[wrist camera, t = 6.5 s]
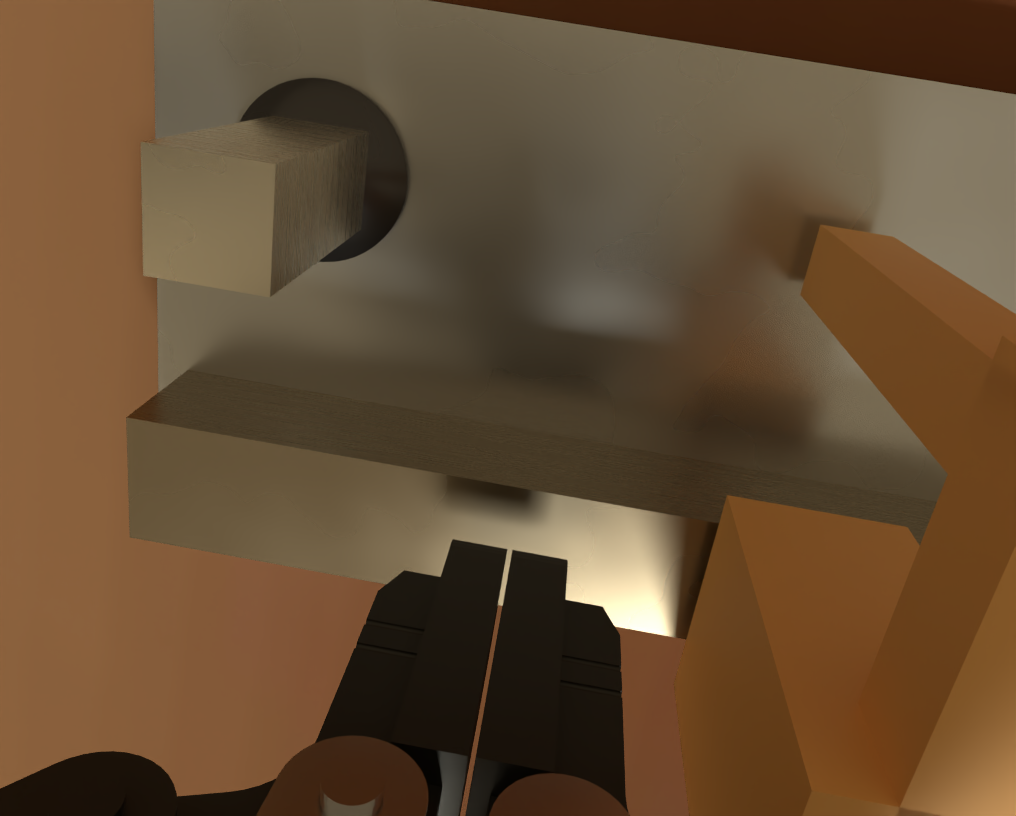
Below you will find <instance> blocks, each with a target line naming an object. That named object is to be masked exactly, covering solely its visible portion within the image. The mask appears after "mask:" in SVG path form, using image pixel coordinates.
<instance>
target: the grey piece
mask: <svg viewBox="0 0 1016 816" xmlns="http://www.w3.org/2000/svg"><path fill="white" fill-rule="evenodd" d="M154 55H155V137H156V139H152V140H147V141H142V142H141V181H142V234H143V276H149V277H154V278H157V301H158V382H159V393H157V394H156V395H155V396H153V397H152V398H151V399H150V400H148V401H147V402H146V403H144V404H143V405H142V406H141V407H139V408H138V409H137V410H135V411H134V412H133V413H132V414H130V415H129V416H128V417H126V422H127V457H128V492H129V527H130V537H131V538H137V539H142V540H148V541H153V542H159V543H164V544H169V545H175V546H180V547H186V548H191V549H197V550H202V551H208V552H213V553H219V554H224V555H229V556H235V557H240V558H246V559H251V560H257V561H262V562H268V563H273V564H279V565H284V566H289V567H295V568H300V569H306V570H311V571H317V572H322V573H328V574H333V575H339V576H344V577H349V578H355V579H360V580H366V581H371V582H377V583H382V584H388V583H389V582H390V581H391V580H393V579H394V578H395V577H396V576H398V575H399V574H400V573H401V572H403V571H404V570H406V571H411V572H417V573H422V574H427V575H433V576H438V577H441V574H442V571H443V568H444V564H445V561H446V558H447V555H448V551H449V548H450V545H451V542H452V540H453V539H455V540H460V541H466V542H471V543H477V544H482V545H488V546H493V547H499V548H504V549H508V550H507V556H506V562H505V567H504V573H503V579H502V585H501V590H500V596H499V602H498V605H502V606H503V601H504V595H505V589H506V584H507V578H508V572H509V567H510V561H511V555H512V550H516V551H522V552H527V553H533V554H538V555H544V556H549V557H555V558H560V559H566V560H568V567H567V583H566V599H565V600H570V601H575V602H581V603H586V604H592V605H597V606H603V608H604V610H605V611H606V613H607V615H608V616H609V618H610V620H611V621H612V623H613V625H614V626H617V627H622V628H628V629H633V630H639V631H644V632H649V633H655V634H660V635H666V636H671V637H677V638H682V639H687V635H688V632H689V628H690V625H691V621H692V618H693V614H694V611H695V607H696V603H697V600H698V596H699V593H700V589H701V586H702V582H703V579H704V575H705V572H706V568H707V564H708V561H709V557H710V554H711V550H712V547H713V543H714V540H715V536H716V533H717V529H718V526H719V522H720V518H721V515H722V511H723V508H724V504H725V501H726V497H727V495H730V496H735V497H741V498H747V499H752V500H758V501H764V502H769V503H775V504H781V505H786V506H792V507H797V508H803V509H809V510H814V511H820V512H826V513H831V514H837V515H843V516H848V517H854V518H859V519H865V520H871V521H876V522H882V523H888V524H893V525H899V526H904V527H908V529H909V530H910V532H911V533H912V535H913V536H914V538H915V539H916V541H917V542H918V544H919V546H920V544H921V541H922V539H923V536H924V534H925V531H926V529H927V526H928V523H929V521H930V518H931V516H932V513H933V511H934V508H935V506H936V503H937V500H938V498H939V495H940V493H941V490H942V488H943V485H944V483H945V480H946V478H947V475H948V474H947V473H946V471H945V470H944V469H943V468H942V466H941V465H940V464H939V463H938V462H937V460H936V459H935V458H934V457H933V456H932V454H931V453H930V452H929V451H928V449H927V448H926V447H925V446H924V445H923V443H922V442H921V441H920V440H919V439H918V437H917V436H916V435H915V434H914V432H913V431H912V430H911V429H910V428H909V426H908V425H907V424H906V423H905V421H904V420H903V419H902V418H901V417H900V415H899V414H898V413H897V412H896V411H895V409H894V408H893V407H892V406H891V404H890V403H889V402H888V401H887V400H886V398H885V397H884V396H883V395H882V394H881V392H880V391H879V390H878V389H877V387H876V386H875V385H874V384H873V383H872V381H871V380H870V379H869V378H868V377H867V375H866V374H865V373H864V372H863V370H862V369H861V368H860V367H859V366H858V364H857V363H856V362H855V361H854V359H853V358H852V357H851V356H850V355H849V353H848V352H847V351H846V350H845V349H844V347H843V346H842V345H841V344H840V342H839V341H838V340H837V339H836V338H835V336H834V335H833V334H832V333H831V332H830V330H829V329H828V328H827V327H826V325H825V324H824V323H823V322H822V321H821V319H820V318H819V317H818V316H817V314H816V313H815V312H814V311H813V310H812V308H811V307H810V306H809V305H808V304H807V302H806V301H805V300H804V299H803V297H802V296H801V295H800V293H801V290H802V286H803V283H804V279H805V276H806V273H807V269H808V266H809V262H810V259H811V255H812V252H813V248H814V245H815V242H816V238H817V235H818V231H819V228H820V225H826V226H832V227H838V228H844V229H850V230H856V231H862V232H869V233H875V234H881V235H887V236H893V237H895V238H896V239H898V240H899V241H901V242H903V243H904V244H906V245H907V246H909V247H911V248H912V249H914V250H915V251H917V252H918V253H920V254H922V255H923V256H925V257H926V258H928V259H929V260H931V261H933V262H934V263H936V264H937V265H939V266H941V267H942V268H944V269H945V270H947V271H948V272H950V273H952V274H953V275H955V276H956V277H958V278H960V279H961V280H963V281H964V282H966V283H967V284H969V285H971V286H972V287H974V288H975V289H977V290H979V291H980V292H982V293H983V294H985V295H986V296H988V297H990V298H991V299H993V300H994V301H996V302H997V303H999V304H1001V305H1002V306H1004V307H1005V308H1007V309H1009V310H1010V311H1012V312H1013V313H1015V314H1016V94H1009V93H1003V92H997V91H991V90H985V89H978V88H972V87H966V86H960V85H953V84H947V83H941V82H935V81H928V80H922V79H916V78H910V77H903V76H897V75H891V74H885V73H878V72H872V71H866V70H860V69H853V68H847V67H841V66H835V65H829V64H822V63H816V62H810V61H804V60H797V59H791V58H785V57H779V56H772V55H766V54H760V53H754V52H747V51H741V50H735V49H729V48H722V47H716V46H710V45H704V44H697V43H691V42H685V41H679V40H673V39H666V38H660V37H654V36H648V35H641V34H635V33H629V32H623V31H616V30H610V29H604V28H598V27H591V26H585V25H579V24H573V23H566V22H560V21H554V20H548V19H542V18H535V17H529V16H523V15H517V14H510V13H504V12H498V11H492V10H485V9H479V8H473V7H467V6H460V5H454V4H448V3H442V2H435V1H429V0H154Z"/></svg>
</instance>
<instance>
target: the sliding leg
mask: <svg viewBox="0 0 1016 816" xmlns="http://www.w3.org/2000/svg"><path fill="white" fill-rule="evenodd" d="M800 295H801V296H802V297H803V299H804V300H805V301H806V302H807V304H808V305H809V306H810V307H811V308H812V310H813V311H814V312H815V313H816V314H817V316H818V317H819V318H820V319H821V321H822V322H823V323H824V324H825V325H826V327H827V328H828V329H829V330H830V332H831V333H832V334H833V335H834V336H835V338H836V339H837V340H838V341H839V342H840V344H841V345H842V346H843V347H844V349H845V350H846V351H847V352H848V353H849V355H850V356H851V357H852V358H853V359H854V361H855V362H856V363H857V364H858V366H859V367H860V368H861V369H862V370H863V372H864V373H865V374H866V375H867V377H868V378H869V379H870V380H871V381H872V383H873V384H874V385H875V386H876V387H877V389H878V390H879V391H880V392H881V394H882V395H883V396H884V397H885V398H886V400H887V401H888V402H889V403H890V404H891V406H892V407H893V408H894V409H895V411H896V412H897V413H898V414H899V415H900V417H901V418H902V419H903V420H904V421H905V423H906V424H907V425H908V426H909V428H910V429H911V430H912V431H913V432H914V434H915V435H916V436H917V437H918V439H919V440H920V441H921V442H922V443H923V445H924V446H925V447H926V448H927V449H928V451H929V452H930V453H931V454H932V456H933V457H934V458H935V459H936V460H937V462H938V463H939V464H940V465H941V466H942V468H943V469H944V470H945V471H946V473H947V474H948V475H947V478H946V480H945V483H944V485H943V488H942V490H941V493H940V495H939V498H938V500H937V503H936V506H935V508H934V511H933V513H932V516H931V518H930V521H929V523H928V526H927V529H926V531H925V534H924V536H923V539H922V541H921V544H920V546H919V544H918V542H917V541H916V539H915V538H914V536H913V535H912V533H911V532H910V530H909V529H908V527H904V526H899V525H893V524H888V523H882V522H876V521H871V520H865V519H859V518H854V517H848V516H843V515H837V514H831V513H826V512H820V511H814V510H809V509H803V508H797V507H792V506H786V505H781V504H775V503H769V502H764V501H758V500H752V499H747V498H741V497H735V496H730V495H727V497H726V501H725V504H724V508H723V511H722V515H721V518H720V522H719V526H718V529H717V533H716V536H715V540H714V543H713V547H712V550H711V554H710V557H709V561H708V564H707V568H706V572H705V575H704V579H703V582H702V586H701V589H700V593H699V596H698V600H697V603H696V607H695V611H694V614H693V618H692V621H691V625H690V628H689V632H688V635H687V639H686V642H685V646H684V650H683V653H682V657H681V660H680V664H679V667H678V671H677V674H676V678H675V681H674V689H675V698H676V707H677V715H678V724H679V732H680V741H681V749H682V758H683V766H684V775H685V783H686V792H687V801H688V809H689V816H1016V314H1015V313H1013V312H1012V311H1010V310H1009V309H1007V308H1005V307H1004V306H1002V305H1001V304H999V303H997V302H996V301H994V300H993V299H991V298H990V297H988V296H986V295H985V294H983V293H982V292H980V291H979V290H977V289H975V288H974V287H972V286H971V285H969V284H967V283H966V282H964V281H963V280H961V279H960V278H958V277H956V276H955V275H953V274H952V273H950V272H948V271H947V270H945V269H944V268H942V267H941V266H939V265H937V264H936V263H934V262H933V261H931V260H929V259H928V258H926V257H925V256H923V255H922V254H920V253H918V252H917V251H915V250H914V249H912V248H911V247H909V246H907V245H906V244H904V243H903V242H901V241H899V240H898V239H896V238H895V237H893V236H887V235H881V234H875V233H869V232H862V231H856V230H850V229H844V228H838V227H832V226H826V225H820V228H819V231H818V235H817V238H816V242H815V245H814V248H813V252H812V255H811V259H810V262H809V266H808V269H807V273H806V276H805V279H804V283H803V286H802V290H801V293H800Z"/></svg>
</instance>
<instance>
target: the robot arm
mask: <svg viewBox="0 0 1016 816" xmlns="http://www.w3.org/2000/svg"><path fill="white" fill-rule="evenodd" d="M507 550H508V549H504V548H499V547H493V546H488V545H482V544H477V543H471V542H466V541H460V540H455V539H453V540H452V542H451V545H450V548H449V551H448V555H447V558H446V561H445V564H444V568H443V571H442V574H441V577H438V576H433V575H427V574H422V573H417V572H411V571H406V570H404V571H403V572H401V573H400V574H399V575H398V576H396V577H395V578H394V579H393V580H391V581H390V582H389V583H388V584H386V585H385V586H384V587H383V588H381V589H380V590H379V591H378V593H377V595H376V598H375V600H374V602H373V605H372V607H371V610H370V612H369V615H368V617H367V620H366V625H365V624H364V627H363V629H362V632H361V634H360V636H359V639H358V641H357V646H356V648H355V649H354V651H353V653H352V656H351V658H350V661H349V663H348V665H347V668H346V670H345V673H344V675H343V678H342V680H341V682H340V685H339V687H338V690H337V692H336V695H335V697H334V699H333V702H332V704H331V707H330V709H329V712H328V714H327V716H326V719H325V721H324V724H323V726H322V729H321V731H320V733H319V736H318V738H317V740H316V742H315V743H314V744H312V745H310V746H308V747H307V748H305V749H303V750H302V751H300V752H299V753H297V754H296V755H295V756H293V757H292V758H291V760H290V761H289V762H288V763H287V764H286V765H285V766H284V767H283V769H282V770H281V772H280V773H279V775H278V777H277V778H276V779H274V780H272V781H270V782H267V783H265V784H262V785H260V786H257V787H253V788H249V789H245V790H240V791H233V792H224V793H213V794H201V795H190V796H178V797H177V794H176V790H175V787H174V784H173V782H172V780H171V779H170V777H169V775H168V774H167V773H166V772H165V771H164V770H163V769H162V768H161V767H160V766H158V765H157V764H155V763H154V762H152V761H151V760H149V759H146V758H144V757H141V756H139V755H134V754H130V753H125V752H114V751H112V752H95V753H89V754H83V755H79V756H76V757H72V758H69V759H66V760H63V761H61V762H58V763H56V764H53V765H51V766H49V767H47V768H45V769H42V770H40V771H38V772H36V773H34V774H31V775H29V776H27V777H25V778H23V779H21V780H18V781H16V782H14V783H12V784H10V785H7V786H5V787H3V788H1V789H0V816H460V812H461V806H462V801H463V796H464V790H465V785H466V779H467V774H468V769H469V763H470V758H471V752H472V747H473V741H474V736H475V731H476V725H477V720H478V714H479V709H480V703H481V698H482V692H483V687H484V681H485V676H486V670H487V665H488V659H489V653H490V648H491V642H492V636H493V630H494V625H495V619H496V613H497V608H498V602H499V596H500V590H501V585H502V579H503V573H504V567H505V562H506V556H507ZM567 567H568V560H566V559H560V558H555V557H549V556H544V555H538V554H533V553H527V552H522V551H516V550H512V555H511V561H510V567H509V572H508V578H507V584H506V589H505V595H504V601H503V606H502V612H501V618H500V623H499V629H498V635H497V640H496V646H495V652H494V657H493V663H492V669H491V674H490V680H489V685H488V691H487V697H486V702H485V708H484V714H483V719H482V725H481V731H480V736H479V742H478V748H477V753H476V759H475V765H474V770H473V776H472V782H471V787H470V793H469V799H468V804H467V810H466V816H630V815H629V813H628V809H627V804H626V796H625V767H624V738H623V708H622V698H621V694H622V678H621V672H620V669H621V648H620V635H619V633H618V631H617V630H616V628H615V626H614V625H613V623H612V621H611V620H610V618H609V616H608V615H607V613H606V611H605V610H604V608H603V606H597V605H592V604H586V603H581V602H575V601H570V600H565V599H566V583H567Z"/></svg>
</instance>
